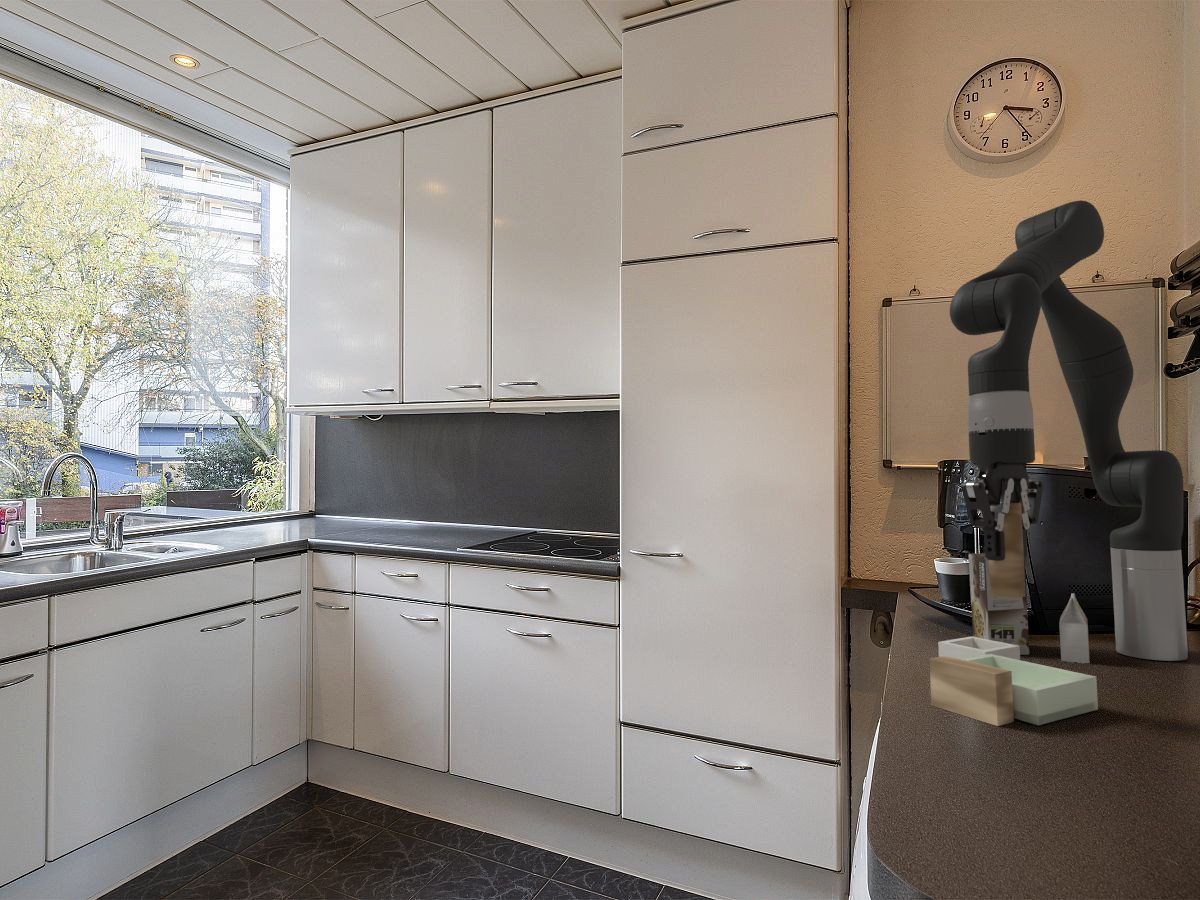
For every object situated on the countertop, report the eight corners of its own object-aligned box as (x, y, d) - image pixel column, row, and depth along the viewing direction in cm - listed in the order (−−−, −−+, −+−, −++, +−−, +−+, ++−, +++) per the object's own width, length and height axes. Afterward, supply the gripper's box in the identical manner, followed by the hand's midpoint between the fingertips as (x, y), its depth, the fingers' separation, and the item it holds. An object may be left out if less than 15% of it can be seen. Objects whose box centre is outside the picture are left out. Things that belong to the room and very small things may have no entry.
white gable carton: (1061, 661, 112) (1057, 597, 113) (1062, 652, 118) (1059, 592, 118) (1089, 664, 110) (1085, 599, 111) (1089, 655, 116) (1085, 593, 116)
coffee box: (1031, 655, 116) (1026, 556, 117) (988, 654, 117) (984, 556, 118) (1011, 643, 125) (1006, 551, 126) (971, 642, 126) (967, 551, 127)
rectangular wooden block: (947, 702, 92) (945, 655, 93) (1013, 721, 84) (1011, 670, 85) (931, 705, 91) (929, 658, 91) (997, 726, 83) (995, 674, 83)
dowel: (1002, 591, 95) (998, 502, 95) (1032, 595, 91) (1028, 502, 92) (983, 594, 93) (979, 503, 94) (1012, 598, 89) (1008, 503, 90)
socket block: (972, 658, 115) (971, 636, 115) (1020, 669, 108) (1019, 645, 108) (939, 664, 111) (938, 641, 112) (986, 676, 104) (985, 652, 104)
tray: (992, 682, 100) (990, 653, 100) (1098, 709, 88) (1096, 676, 88) (934, 694, 95) (932, 664, 95) (1038, 725, 82) (1036, 690, 83)
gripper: (1007, 431, 100) (1013, 554, 99) (938, 429, 93) (944, 560, 93) (1062, 427, 93) (1068, 558, 92) (992, 424, 87) (998, 565, 86)
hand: (1006, 558), depth 92 cm, fingers closed on dowel, 4 cm apart
